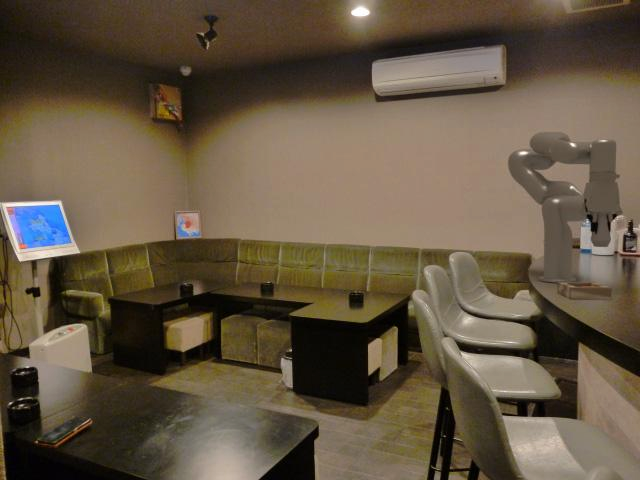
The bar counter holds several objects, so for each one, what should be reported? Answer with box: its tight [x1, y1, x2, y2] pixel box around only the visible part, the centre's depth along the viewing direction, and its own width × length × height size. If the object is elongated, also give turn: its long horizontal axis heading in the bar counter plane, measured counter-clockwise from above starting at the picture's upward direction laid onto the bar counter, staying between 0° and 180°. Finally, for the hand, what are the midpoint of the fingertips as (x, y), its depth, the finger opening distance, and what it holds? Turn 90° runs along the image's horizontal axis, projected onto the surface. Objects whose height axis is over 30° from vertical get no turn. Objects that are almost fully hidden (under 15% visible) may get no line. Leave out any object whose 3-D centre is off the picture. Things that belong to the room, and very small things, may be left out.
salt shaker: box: [590, 210, 612, 248], centre depth 167 cm, size 6×6×13 cm
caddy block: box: [557, 281, 613, 301], centre depth 158 cm, size 12×11×4 cm
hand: (600, 233), depth 167 cm, fingers closed on salt shaker, 3 cm apart
